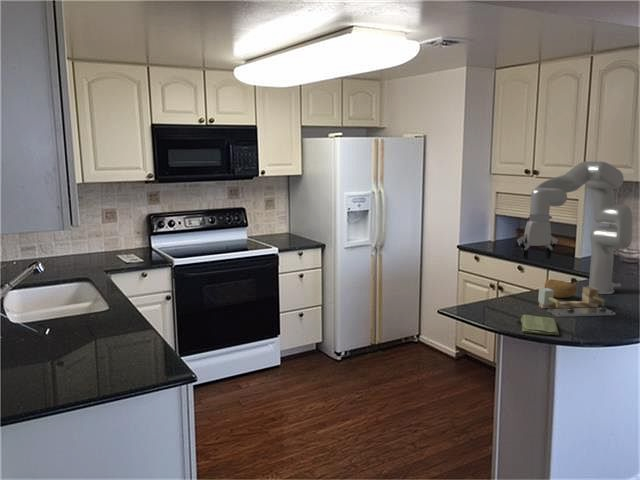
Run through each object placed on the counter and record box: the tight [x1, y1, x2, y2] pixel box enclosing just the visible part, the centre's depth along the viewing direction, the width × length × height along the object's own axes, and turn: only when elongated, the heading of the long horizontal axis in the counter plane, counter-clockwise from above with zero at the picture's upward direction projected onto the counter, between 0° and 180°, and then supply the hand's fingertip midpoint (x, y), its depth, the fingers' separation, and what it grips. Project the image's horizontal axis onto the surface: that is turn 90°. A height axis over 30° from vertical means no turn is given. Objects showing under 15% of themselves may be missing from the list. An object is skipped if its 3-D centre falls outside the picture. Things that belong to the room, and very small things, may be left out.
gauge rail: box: [538, 286, 606, 309], centre depth 226 cm, size 25×12×8 cm, turn 95°
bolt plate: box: [546, 306, 617, 318], centre depth 221 cm, size 25×8×2 cm, turn 95°
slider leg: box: [537, 287, 560, 309], centre depth 225 cm, size 4×12×6 cm, turn 5°
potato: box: [544, 279, 578, 299], centre depth 245 cm, size 10×14×8 cm
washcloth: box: [520, 314, 560, 337], centre depth 202 cm, size 13×18×3 cm
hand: (536, 258), depth 225 cm, fingers open, 9 cm apart
